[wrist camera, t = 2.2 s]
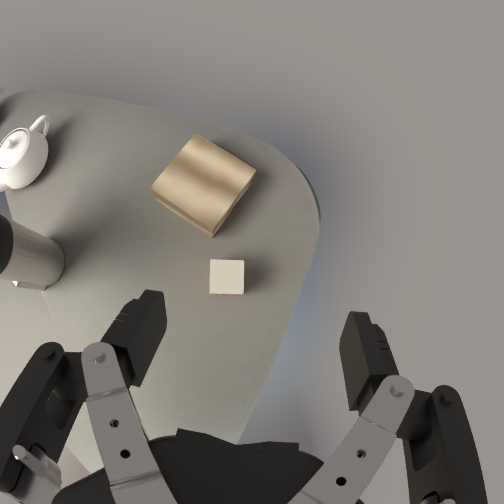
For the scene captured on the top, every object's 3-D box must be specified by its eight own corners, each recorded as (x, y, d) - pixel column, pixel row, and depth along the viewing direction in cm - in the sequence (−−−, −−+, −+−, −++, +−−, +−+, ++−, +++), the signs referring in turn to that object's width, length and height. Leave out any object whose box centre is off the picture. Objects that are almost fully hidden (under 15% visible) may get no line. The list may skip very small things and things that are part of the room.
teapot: (44, 120, 50) (26, 95, 40) (73, 142, 51) (54, 115, 40) (-10, 192, 46) (-35, 176, 35) (13, 222, 46) (-15, 208, 35)
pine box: (212, 238, 52) (212, 230, 46) (155, 200, 51) (149, 187, 46) (251, 183, 55) (256, 170, 49) (196, 149, 54) (196, 133, 48)
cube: (238, 295, 50) (243, 294, 43) (209, 294, 50) (209, 293, 42) (238, 267, 51) (244, 260, 43) (210, 266, 51) (210, 259, 43)
